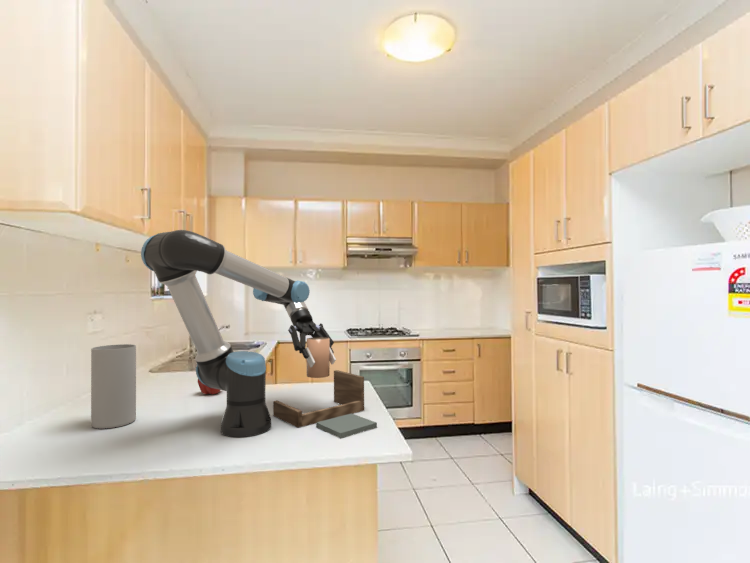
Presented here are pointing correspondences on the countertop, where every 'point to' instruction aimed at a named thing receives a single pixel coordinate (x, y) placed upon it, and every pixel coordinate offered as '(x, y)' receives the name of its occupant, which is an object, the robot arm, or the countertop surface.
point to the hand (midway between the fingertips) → (323, 363)
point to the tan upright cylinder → (319, 357)
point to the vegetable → (207, 389)
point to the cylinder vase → (113, 385)
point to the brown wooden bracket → (345, 393)
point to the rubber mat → (346, 425)
